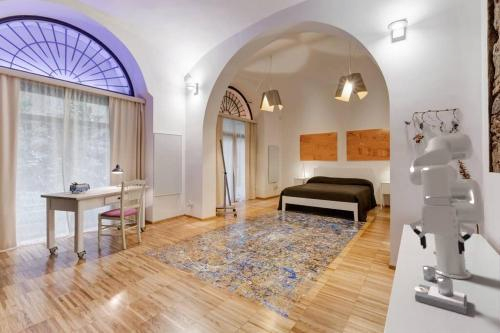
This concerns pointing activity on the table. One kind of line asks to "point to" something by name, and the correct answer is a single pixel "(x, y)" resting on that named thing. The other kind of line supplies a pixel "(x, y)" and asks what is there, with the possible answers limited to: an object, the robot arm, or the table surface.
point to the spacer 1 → (429, 273)
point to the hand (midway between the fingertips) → (442, 250)
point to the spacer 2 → (445, 286)
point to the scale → (441, 299)
